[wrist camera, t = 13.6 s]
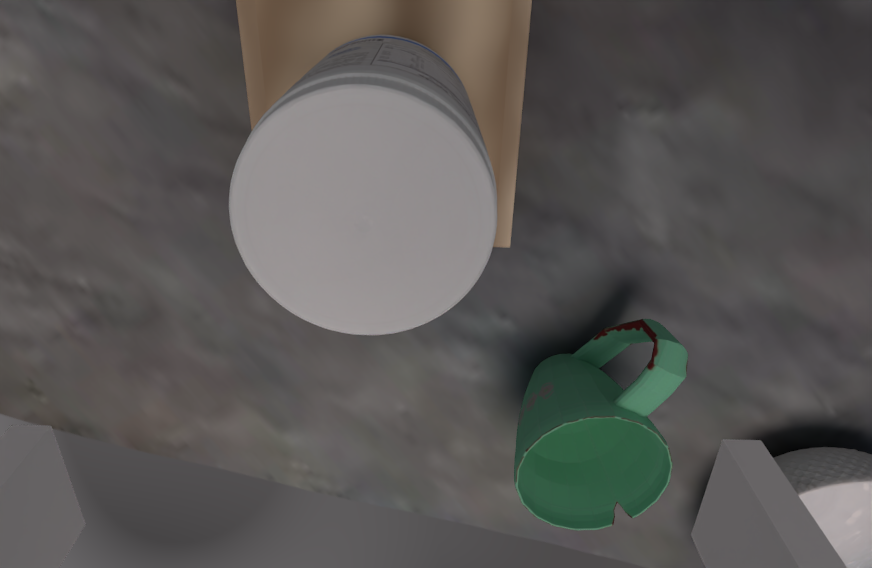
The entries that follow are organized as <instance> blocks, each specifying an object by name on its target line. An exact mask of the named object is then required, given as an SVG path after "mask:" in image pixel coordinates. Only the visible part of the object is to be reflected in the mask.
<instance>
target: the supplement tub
mask: <svg viewBox="0 0 872 568" xmlns="http://www.w3.org/2000/svg"><path fill="white" fill-rule="evenodd" d="M229 214H230V223H231V229H232V233H233V236H234V240H235V243H236V245H237V248H238V250H239V253H240V255H241V257H242V259H243V261H244V263H245V265H246V267H247V268H248V270H249V271H250V273H251V274H252V276H253V277H254V278H255V280H256V281H257V282H258V284H259V285H260V286H261V287H262V288H263V289H264V290H265V291H266V292H267V293H268V294H269V295H270V296H271V297H272V298H273V299H274V300H275V301H276V302H278V303H279V304H280V305H281V306H283V307H284V308H286V309H287V310H288V311H290V312H291V313H293V314H295V315H296V316H298V317H300V318H302V319H304V320H306V321H308V322H310V323H312V324H315V325H317V326H320V327H323V328H326V329H329V330H333V331H337V332H342V333H348V334H355V335H384V334H391V333H397V332H402V331H405V330H409V329H412V328H415V327H418V326H420V325H423V324H425V323H427V322H429V321H431V320H433V319H435V318H437V317H439V316H441V315H442V314H444V313H445V312H446V311H448V310H449V309H451V308H452V307H453V306H455V305H456V304H457V303H458V302H459V301H460V300H461V299H462V298H463V297H464V296H465V295H466V294H467V293H468V292H469V291H470V290H471V288H472V287H473V286H474V285H475V283H476V282H477V280H478V279H479V277H480V275H481V273H482V272H483V270H484V268H485V266H486V264H487V262H488V260H489V257H490V255H491V252H492V248H493V244H494V240H495V236H496V229H497V190H496V181H495V177H494V172H493V169H492V165H491V162H490V158H489V155H488V152H487V149H486V146H485V143H484V140H483V137H482V134H481V131H480V128H479V125H478V122H477V119H476V117H475V114H474V111H473V108H472V105H471V102H470V100H469V97H468V94H467V92H466V90H465V87H464V85H463V83H462V81H461V80H460V78H459V76H458V75H457V74H456V72H455V71H454V69H453V68H452V67H451V66H450V65H449V63H448V62H447V61H446V60H445V59H444V58H442V57H441V56H440V55H439V54H437V53H436V52H435V51H433V50H432V49H430V48H428V47H427V46H425V45H423V44H421V43H419V42H417V41H414V40H411V39H408V38H404V37H400V36H393V35H371V36H366V37H361V38H358V39H354V40H352V41H349V42H347V43H345V44H343V45H341V46H339V47H338V48H336V49H335V50H333V51H332V52H330V53H329V54H328V55H327V56H325V57H324V58H323V59H322V60H321V61H320V62H319V63H317V64H316V65H315V66H314V67H313V68H312V69H311V70H310V71H309V72H307V73H306V74H305V75H304V76H303V77H302V78H301V79H300V80H299V81H297V82H296V83H295V84H294V85H293V86H292V87H291V88H290V89H289V90H288V91H287V92H286V93H285V94H284V95H283V96H282V97H281V98H280V99H279V100H277V101H276V102H275V103H274V104H273V105H272V106H271V108H270V109H269V110H268V111H267V112H266V113H265V114H264V115H263V116H262V117H261V119H260V120H259V121H258V123H257V124H256V126H255V127H254V128H253V130H252V132H251V134H250V135H249V137H248V139H247V141H246V143H245V145H244V147H243V149H242V151H241V153H240V155H239V158H238V160H237V162H236V165H235V168H234V171H233V175H232V179H231V184H230V192H229Z"/></svg>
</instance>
